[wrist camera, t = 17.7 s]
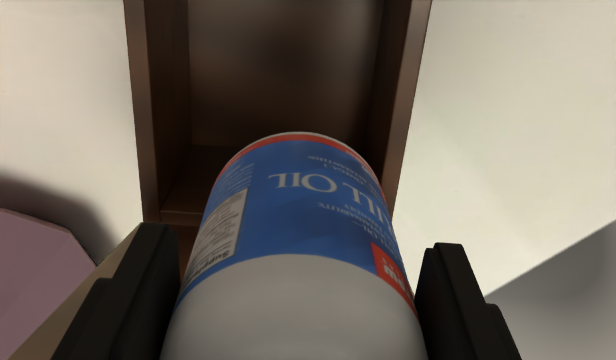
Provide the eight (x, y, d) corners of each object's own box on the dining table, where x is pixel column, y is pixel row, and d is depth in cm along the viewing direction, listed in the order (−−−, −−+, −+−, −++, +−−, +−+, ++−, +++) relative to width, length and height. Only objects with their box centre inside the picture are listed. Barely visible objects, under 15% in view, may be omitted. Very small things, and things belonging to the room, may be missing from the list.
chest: (170, -102, 28) (113, -99, 20) (410, -81, 28) (445, -70, 20) (182, 149, 35) (143, 224, 27) (372, 164, 35) (388, 241, 27)
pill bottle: (418, 184, 16) (556, 508, 8) (318, 296, 18) (339, 651, 10) (268, 89, 15) (230, 362, 6) (178, 224, 17) (54, 570, 8)
